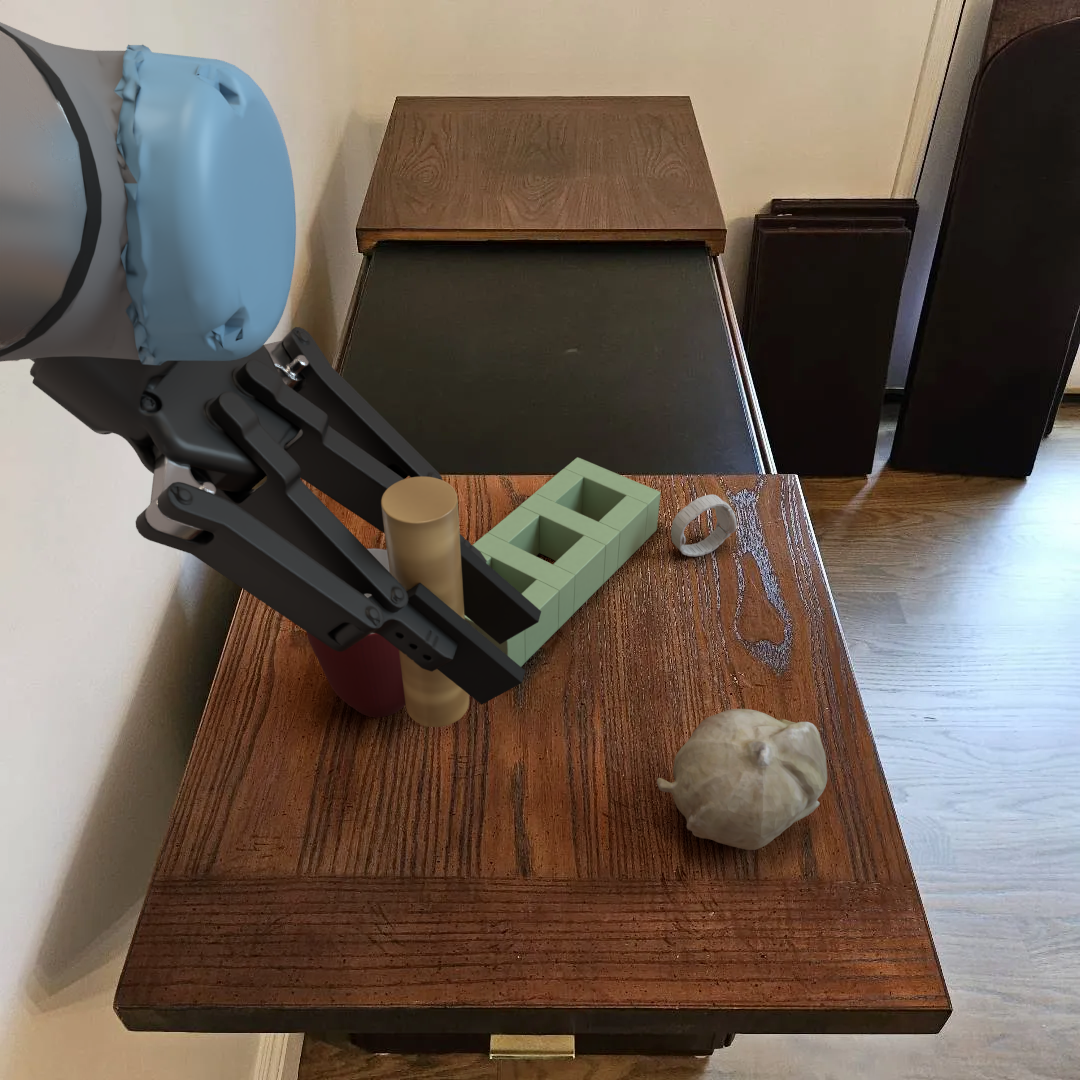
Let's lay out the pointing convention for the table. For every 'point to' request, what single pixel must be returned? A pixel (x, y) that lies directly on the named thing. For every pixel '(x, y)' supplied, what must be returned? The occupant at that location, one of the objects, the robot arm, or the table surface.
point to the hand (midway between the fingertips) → (511, 656)
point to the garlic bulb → (747, 777)
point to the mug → (365, 669)
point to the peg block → (567, 545)
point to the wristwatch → (718, 536)
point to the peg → (426, 581)
